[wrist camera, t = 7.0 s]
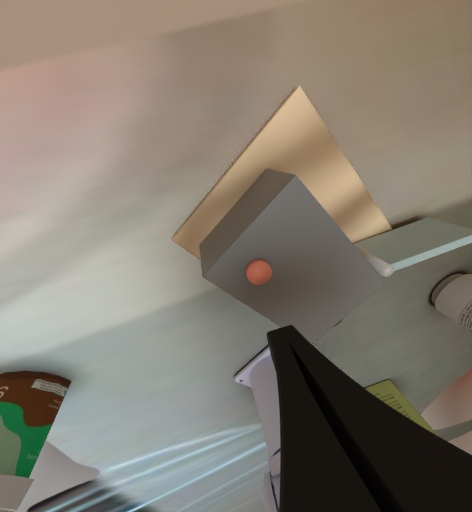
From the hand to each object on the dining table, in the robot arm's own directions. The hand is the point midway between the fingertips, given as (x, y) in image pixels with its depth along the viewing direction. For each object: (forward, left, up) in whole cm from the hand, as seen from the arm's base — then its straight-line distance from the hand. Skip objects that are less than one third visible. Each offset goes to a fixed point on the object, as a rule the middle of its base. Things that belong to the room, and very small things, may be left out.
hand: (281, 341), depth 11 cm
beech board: (-4, -5, -10) cm, 12 cm away
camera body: (-2, -3, -9) cm, 10 cm away
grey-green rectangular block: (-10, -11, -9) cm, 17 cm away
